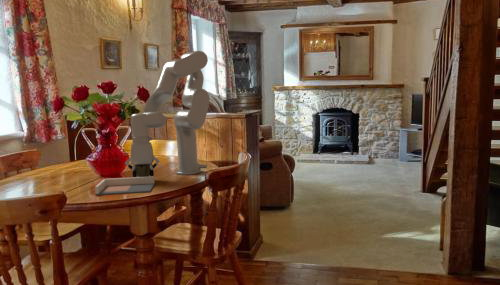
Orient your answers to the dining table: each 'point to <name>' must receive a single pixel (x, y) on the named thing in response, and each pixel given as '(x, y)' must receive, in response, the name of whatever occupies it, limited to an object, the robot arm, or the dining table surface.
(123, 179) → the corner walls
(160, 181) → the dining table surface
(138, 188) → the mat
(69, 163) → the dining table surface
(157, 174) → the dining table surface
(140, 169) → the cup
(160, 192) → the dining table surface
